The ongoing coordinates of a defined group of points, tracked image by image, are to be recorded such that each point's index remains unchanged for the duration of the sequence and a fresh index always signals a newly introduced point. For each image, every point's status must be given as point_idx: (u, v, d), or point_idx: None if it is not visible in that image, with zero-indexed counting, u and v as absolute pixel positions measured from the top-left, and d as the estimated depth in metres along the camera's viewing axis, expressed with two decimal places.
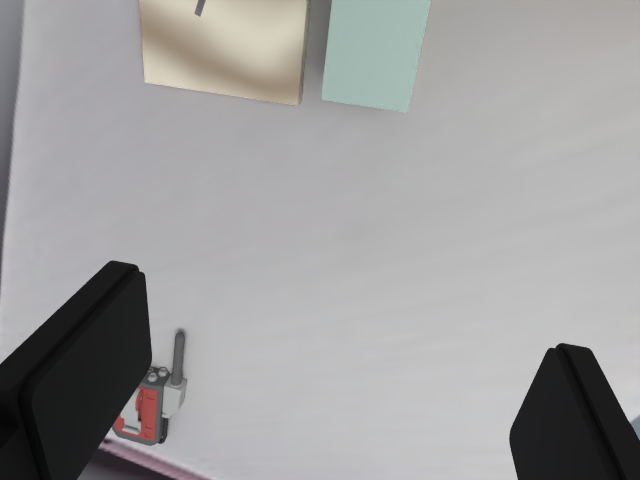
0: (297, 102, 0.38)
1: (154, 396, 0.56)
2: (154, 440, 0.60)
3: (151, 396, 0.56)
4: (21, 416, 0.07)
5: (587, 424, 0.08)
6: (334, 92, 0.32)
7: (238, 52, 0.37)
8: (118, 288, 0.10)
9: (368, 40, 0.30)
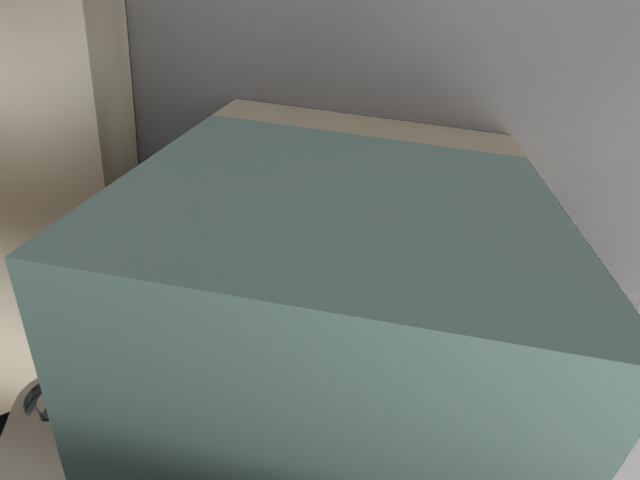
0: None
1: None
2: None
3: None
4: None
5: None
6: None
7: None
8: None
9: None
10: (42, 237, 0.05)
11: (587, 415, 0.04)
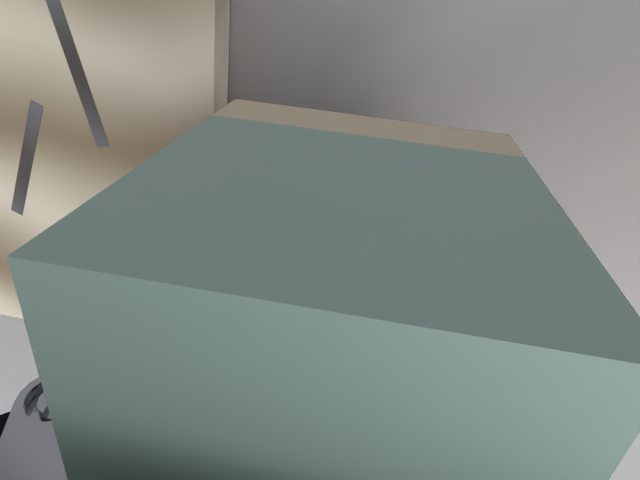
0: None
1: None
2: None
3: None
4: None
5: None
6: None
7: None
8: None
9: None
10: (44, 237, 0.05)
11: (585, 413, 0.04)
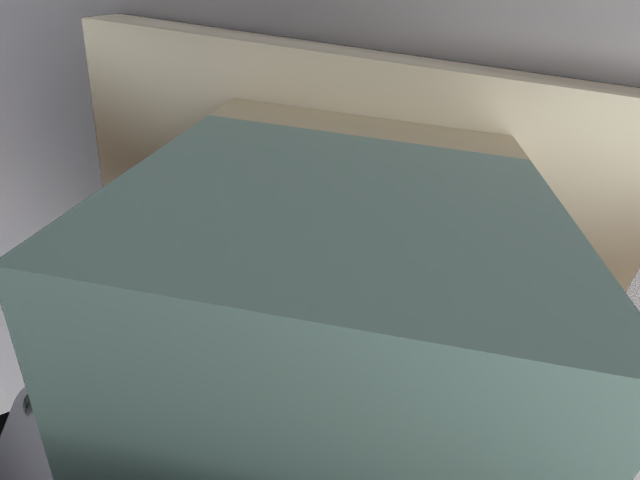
0: None
1: None
2: None
3: None
4: None
5: None
6: None
7: None
8: None
9: None
10: (30, 244, 0.05)
11: (596, 431, 0.04)
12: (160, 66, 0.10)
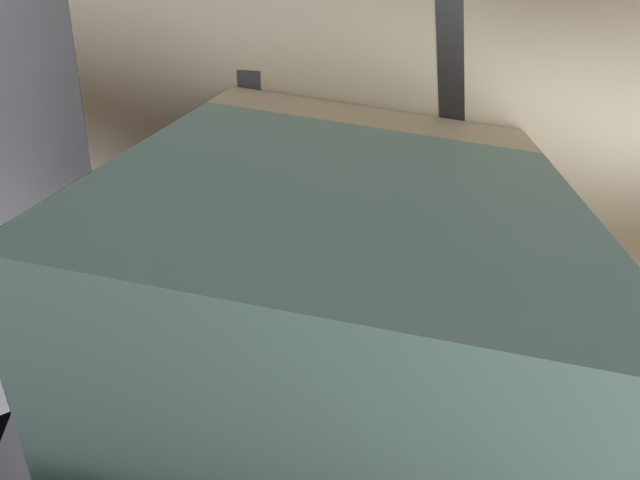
0: None
1: None
2: None
3: None
4: None
5: None
6: None
7: None
8: None
9: None
10: (8, 228, 0.04)
11: (633, 443, 0.04)
12: None
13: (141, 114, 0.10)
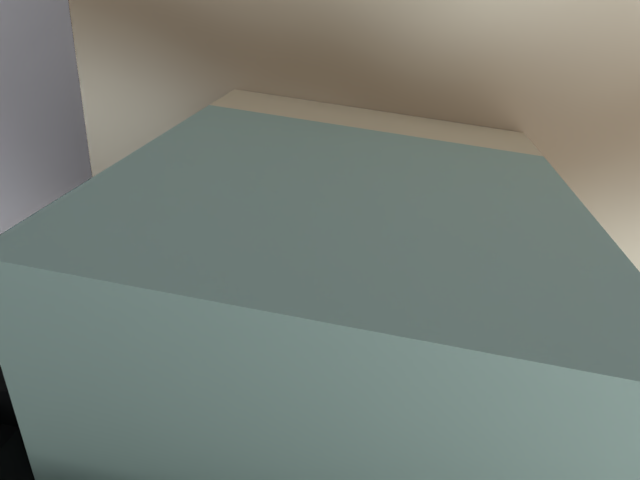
0: None
1: None
2: None
3: None
4: None
5: None
6: None
7: None
8: None
9: None
10: (14, 233, 0.04)
11: (633, 446, 0.04)
12: None
13: None
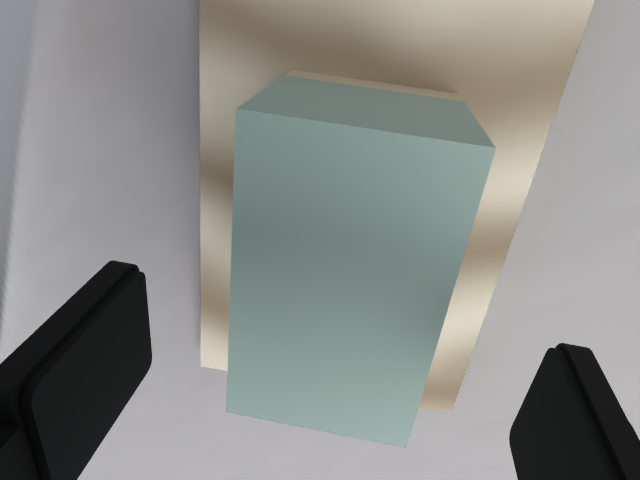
0: (450, 409, 0.24)
1: None
2: None
3: None
4: (21, 416, 0.07)
5: (587, 424, 0.08)
6: (252, 404, 0.15)
7: None
8: (118, 288, 0.10)
9: (316, 327, 0.13)
10: (244, 105, 0.11)
11: (465, 172, 0.11)
12: None
13: (232, 177, 0.19)
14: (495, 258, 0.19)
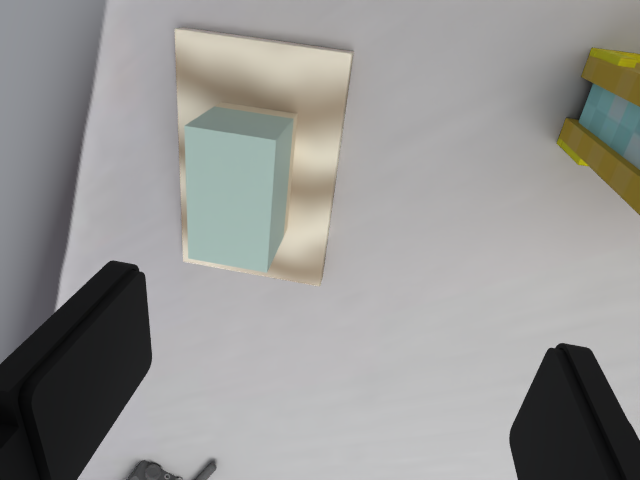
0: (319, 283, 0.43)
1: None
2: None
3: None
4: (21, 416, 0.07)
5: (587, 424, 0.08)
6: (199, 253, 0.34)
7: None
8: (118, 288, 0.10)
9: (222, 214, 0.33)
10: (188, 124, 0.30)
11: (267, 149, 0.30)
12: (197, 43, 0.34)
13: None
14: (328, 195, 0.38)
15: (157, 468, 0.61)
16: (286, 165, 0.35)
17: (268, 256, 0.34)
